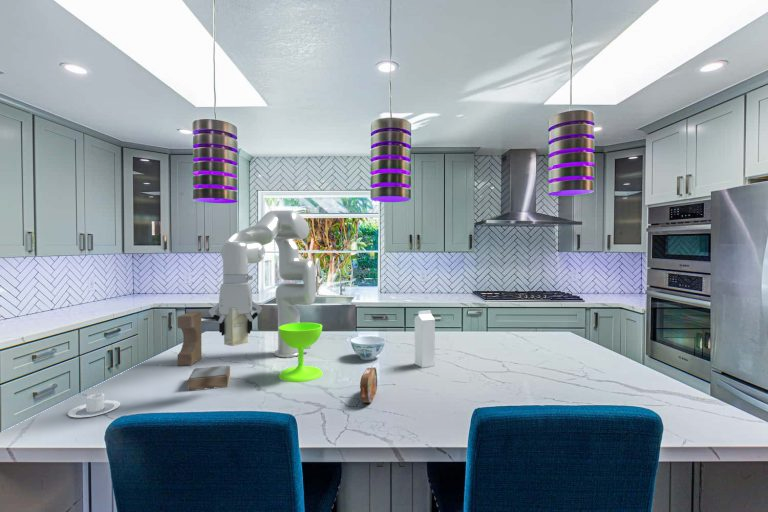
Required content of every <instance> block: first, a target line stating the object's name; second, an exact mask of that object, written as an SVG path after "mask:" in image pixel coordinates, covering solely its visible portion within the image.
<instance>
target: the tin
mask: <svg viewBox="0 0 768 512" xmlns="http://www.w3.org/2000/svg"><path fill="white" fill-rule="evenodd" d="M377 389H378V371H377V369H376V367H367V368H366V369H365V370H364V372H363V374H362V375H361V378H360V382H359V390H360V401H361V402H362V403H363V404H364V403H365V404H367V403H368V404H371V403H372V402H373V400H374V398H375V396H376V394H377Z"/></svg>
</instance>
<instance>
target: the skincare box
mask: <svg viewBox="0 0 768 512" xmlns="http://www.w3.org/2000/svg"><path fill="white" fill-rule="evenodd" d="M223 320H224V335H223V341H224V343H223V344H224V345H225V346H230V347H235V346H238V345H244V344H247V343H249V334H248V318H247V316H246V314H239V313H238V309H237V308H229V312H228V315H226V316H225V318H224V319H223Z"/></svg>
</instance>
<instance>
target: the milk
mask: <svg viewBox="0 0 768 512" xmlns="http://www.w3.org/2000/svg"><path fill="white" fill-rule="evenodd" d="M435 324H436V319H435V317H434V316H433V314H432V310H431V309H428V310H418V313H417V316H415V317H414V364H415V365H416V366H418V367H420V368H428V367H429V366H430V367H435V365H436V364H435V363H436V362H435V361H436V358H435V356H436V343H435V342H436V325H435Z"/></svg>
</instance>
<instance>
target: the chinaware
mask: <svg viewBox="0 0 768 512" xmlns="http://www.w3.org/2000/svg"><path fill="white" fill-rule="evenodd" d="M350 344H351V347H352V350H353V351H354V352H355V354H357V355H358V356H359V357H360V358H359V359H361V360H365V361H371V360H375V359H376V357H377V356H378V355H379V354H380V353H381V352H382V351H383V350H384V347H385V345H386V339H385V338H384V337H380V336H373V335H369V336H367V335H364V336H363V335H362V336H357V337H354V338H351V340H350Z"/></svg>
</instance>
